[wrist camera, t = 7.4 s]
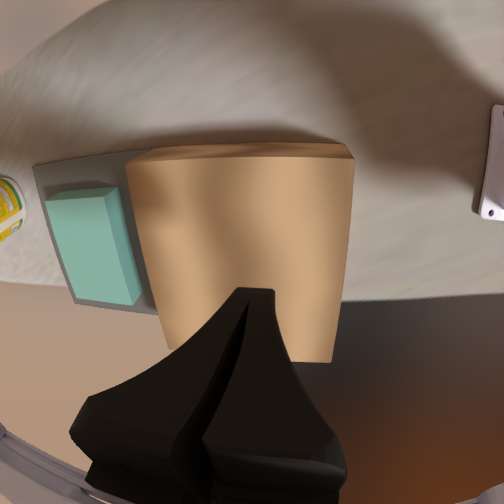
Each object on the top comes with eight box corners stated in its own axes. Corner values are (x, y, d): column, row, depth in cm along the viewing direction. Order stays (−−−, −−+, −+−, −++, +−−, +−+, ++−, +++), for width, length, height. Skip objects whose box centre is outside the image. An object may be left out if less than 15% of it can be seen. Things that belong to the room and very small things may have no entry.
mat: (155, 148, 20) (153, 149, 19) (184, 315, 27) (183, 318, 26) (34, 165, 22) (32, 166, 21) (76, 301, 28) (74, 303, 28)
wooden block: (344, 144, 18) (354, 159, 14) (329, 325, 25) (330, 362, 21) (155, 148, 20) (124, 163, 16) (184, 315, 27) (168, 349, 23)
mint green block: (44, 201, 20) (60, 191, 22) (76, 297, 25) (87, 285, 26) (103, 196, 19) (118, 186, 21) (132, 305, 24) (143, 290, 26)
